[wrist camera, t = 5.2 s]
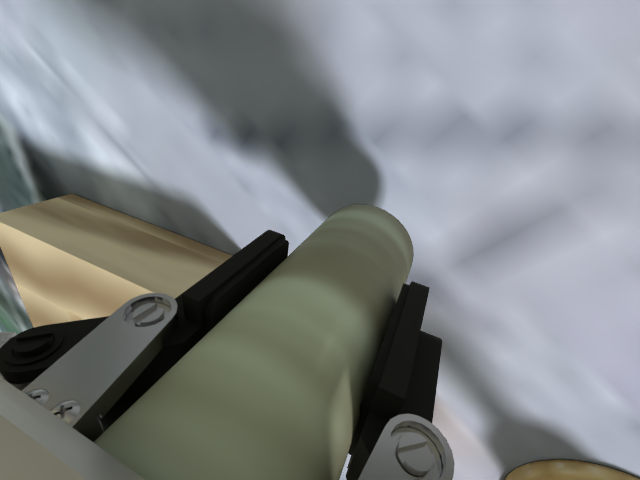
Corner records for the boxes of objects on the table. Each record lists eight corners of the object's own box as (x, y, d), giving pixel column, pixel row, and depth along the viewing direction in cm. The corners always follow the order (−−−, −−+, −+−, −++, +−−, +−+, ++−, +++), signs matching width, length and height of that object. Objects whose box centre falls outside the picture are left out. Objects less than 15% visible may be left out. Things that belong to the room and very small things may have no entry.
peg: (327, 192, 13) (-31, 472, 4) (427, 222, 11) (257, 732, 3) (314, 271, 15) (64, 573, 6) (398, 303, 14) (247, 744, 5)
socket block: (71, 193, 23) (-13, 216, 19) (254, 263, 19) (197, 312, 15) (109, 342, 31) (55, 381, 27) (245, 415, 27) (206, 475, 23)
